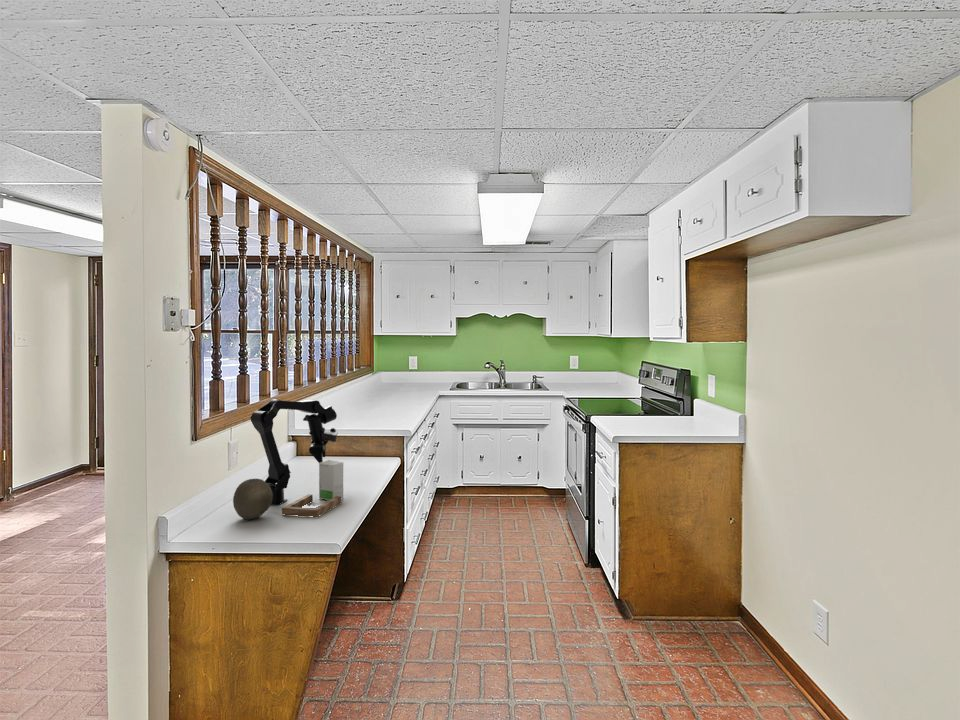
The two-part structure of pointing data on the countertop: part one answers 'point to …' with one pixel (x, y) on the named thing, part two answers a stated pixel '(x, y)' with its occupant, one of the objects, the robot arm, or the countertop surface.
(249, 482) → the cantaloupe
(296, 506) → the wooden tray
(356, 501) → the countertop surface
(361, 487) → the countertop surface
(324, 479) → the skincare box
